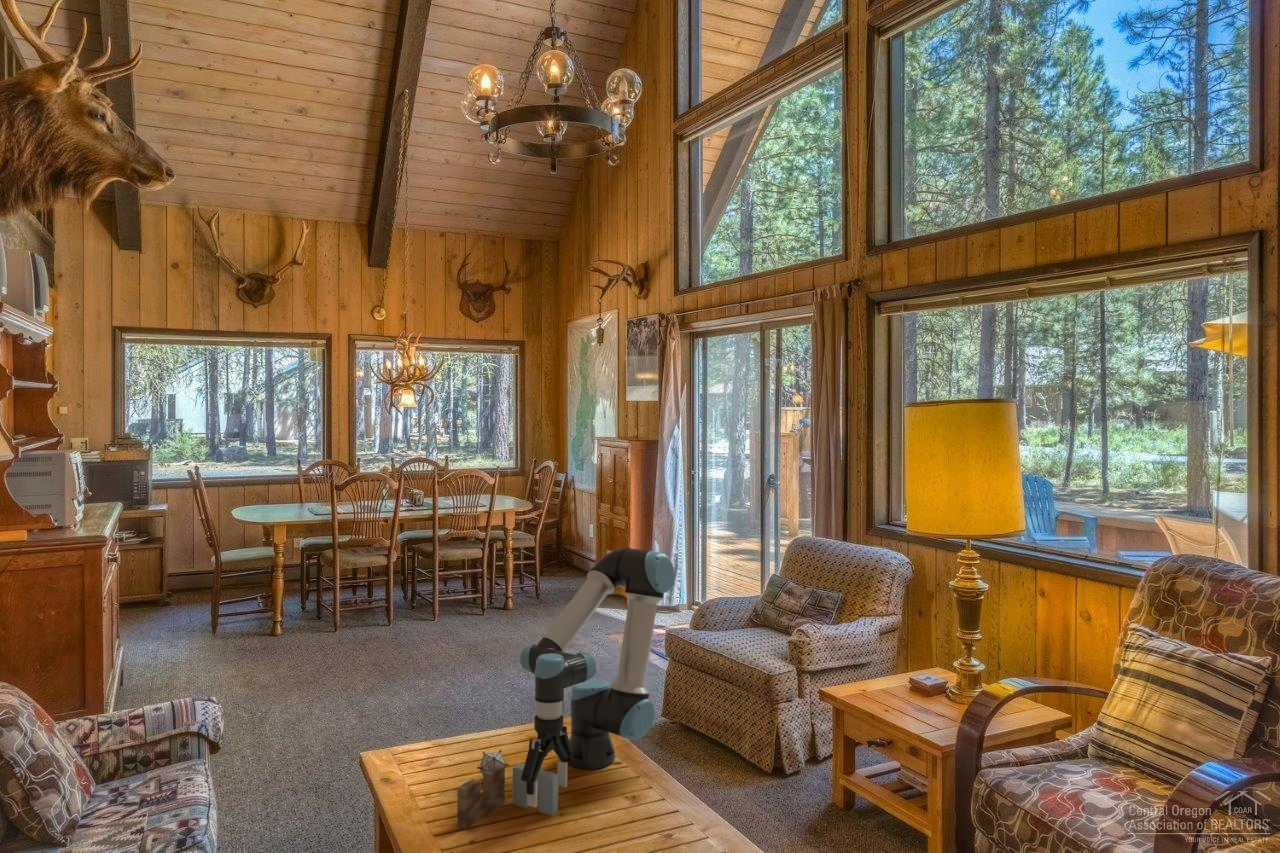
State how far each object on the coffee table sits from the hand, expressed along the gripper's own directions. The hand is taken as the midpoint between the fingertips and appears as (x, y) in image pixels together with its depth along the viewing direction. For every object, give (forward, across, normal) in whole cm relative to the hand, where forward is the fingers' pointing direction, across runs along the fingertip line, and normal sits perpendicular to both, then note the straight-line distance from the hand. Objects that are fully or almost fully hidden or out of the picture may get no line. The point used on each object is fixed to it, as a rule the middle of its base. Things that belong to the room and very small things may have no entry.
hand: (547, 795), depth 221 cm
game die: (+5, -8, -25) cm, 26 cm away
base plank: (+5, +10, -14) cm, 18 cm away
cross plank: (+4, 0, -4) cm, 6 cm away
